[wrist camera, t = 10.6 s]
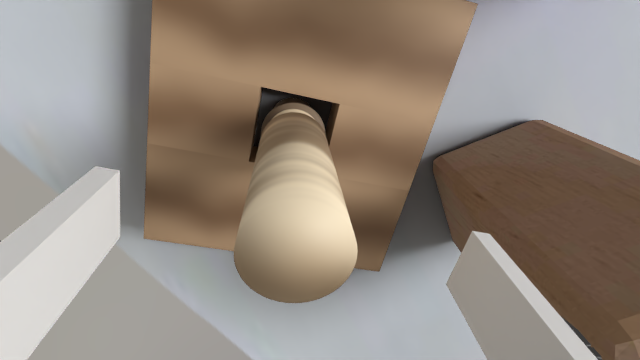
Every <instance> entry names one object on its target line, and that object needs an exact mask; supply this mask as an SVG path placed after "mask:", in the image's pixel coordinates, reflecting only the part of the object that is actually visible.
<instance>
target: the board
mask: <svg viewBox="0 0 640 360" xmlns="http://www.w3.org/2000/svg"><path fill="white" fill-rule="evenodd" d="M477 5H478V4H477V3H473V2H469V1H466V0H152V24H151V51H150V79H149V106H148V134H147V161H146V188H145V216H144V239H151V240H158V241H165V242H172V243H179V244H186V245H194V246H201V247H208V248H215V249H222V250H229V251H234V246H235V242H236V237H237V233H238V229H239V225H240V221H241V217H242V213H243V209H244V205H245V200H246V196H247V192H248V188H249V184H250V180H251V176H252V172H253V167H254V163H255V159H256V155H257V151H258V147H256V146H253V145H254V138H255V132H256V126H257V120H258V114H259V108H260V102H261V95H262V89H263V87H264V88H269V89H273V90H278V91H282V92H287V93H292V94H296V95H301V96H305V97H310V98H315V99H319V100H324V101H329V102H332V106H331V110H330V114H329V118H328V122H327V126H326V130H325V135H326V139H327V142H328V146H329V149H330V152H331V156H332V159H333V163H334V166H335V169H336V173H337V176H338V180H339V183H340V187H341V190H342V193H343V197H344V200H345V204H346V207H347V210H348V214H349V217H350V221H351V224H352V228H353V231H354V234H355V238H356V242H357V250H358V252H357V260H356V264H355V266H354V268H357V269H364V270H371V271H380V268H381V266H382V263H383V260H384V257H385V255H386V252H387V249H388V247H389V244H390V241H391V238H392V236H393V233H394V230H395V228H396V225H397V222H398V219H399V217H400V214H401V211H402V209H403V206H404V203H405V200H406V198H407V195H408V192H409V190H410V187H411V184H412V181H413V179H414V176H415V173H416V171H417V168H418V165H419V162H420V160H421V157H422V154H423V152H424V149H425V146H426V143H427V141H428V138H429V135H430V133H431V130H432V127H433V124H434V122H435V119H436V116H437V114H438V111H439V108H440V105H441V103H442V100H443V97H444V95H445V92H446V89H447V86H448V84H449V81H450V78H451V76H452V73H453V70H454V67H455V65H456V62H457V59H458V57H459V54H460V51H461V48H462V46H463V43H464V40H465V38H466V35H467V32H468V30H469V27H470V24H471V21H472V19H473V16H474V13H475V11H476V8H477Z"/></svg>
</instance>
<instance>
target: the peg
mask: <svg viewBox="0 0 640 360" xmlns="http://www.w3.org/2000/svg"><path fill="white" fill-rule="evenodd" d="M357 252H358V250H357V242H356V238H355V234H354V231H353V228H352V224H351V221H350V217H349V214H348V210H347V207H346V204H345V200H344V197H343V193H342V190H341V187H340V183H339V180H338V176H337V173H336V169H335V166H334V163H333V159H332V156H331V152H330V149H329V146H328V142H327V139H326V135H325V127H324V124H323V121H322V119H321V117H320V116H319V114H318V113H317V112H316V111H315V110H314V109H313V108H312V107H311V105H310V104H309V103H308V102H306V101H305V100H303V99H300V98H295V97H290V98H285V99H283V100H281V101H279V102H278V103H277V104H276V105H275V106H274V107H273V109H272V110H271V111H270V112H269V113H268V114H267V116H266V117H265V119H264V121H263V124H262V128H261V139H260V143H259V147H258V151H257V155H256V159H255V163H254V167H253V172H252V176H251V180H250V184H249V188H248V192H247V196H246V200H245V205H244V209H243V213H242V217H241V221H240V225H239V229H238V233H237V237H236V242H235V246H234V262H235V266H236V269H237V271H238V273H239V275H240V276H241V278H242V280H243V281H244V282H245V283H246V284H247V285H248V286H249V287H250V288H251V289H252V290H254V291H255V292H257V293H258V294H260V295H262V296H264V297H266V298H269V299H271V300H275V301H279V302H285V303H302V302H309V301H313V300H317V299H319V298H322V297H324V296H326V295H329V294H330V293H332V292H334V291H335V290H336V289H338V288H339V287H340V286H341V285H342V284H343V283H344V282H345V281H346V280H347V279H348V277H349V276H350V274H351V273H352V271H353V269H354V266H355V264H356V260H357Z"/></svg>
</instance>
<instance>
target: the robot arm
mask: <svg viewBox="0 0 640 360" xmlns="http://www.w3.org/2000/svg"><path fill="white" fill-rule="evenodd" d="M119 238H120V170H115V169H109V168H103V167H97V166H95V167H94V168H93V169H91V170H90V171H89V172H88V173H86V174H85V175H84V176H83V177H81V178H80V179H79V180H77V181H76V182H75V183H74V184H72V185H71V186H70V187H69V188H67V189H66V190H65V191H64V192H62V193H61V194H60V195H59V196H57V197H56V198H55V199H54V200H52V201H51V202H50V203H49V204H47V205H46V206H45V207H44V208H42V209H41V210H40V211H39V212H37V213H36V214H35V215H34V216H32V217H31V218H30V219H29V220H27V221H26V222H25V223H24V224H22V225H21V226H20V227H18V228H17V229H16V230H15V231H13V232H12V233H11V234H10V235H8V236H7V237H6V238H5V239H3V240H2V241H0V360H27V359H28V358H29V356H30V355H31V354H32V352H33V351H34V350H35V348H36V347H37V346H38V344H39V343H40V342H41V340H42V339H43V338H44V336H45V335H46V334H47V332H48V331H49V330H50V329H51V327H52V326H53V325H54V323H55V322H56V321H57V319H58V318H59V317H60V315H61V314H62V313H63V312H64V310H65V309H66V308H67V306H68V305H69V304H70V302H71V301H72V300H73V298H74V297H75V296H76V294H77V293H78V292H79V291H80V289H81V288H82V287H83V285H84V284H85V283H86V281H87V280H88V279H89V277H90V276H91V275H92V273H93V272H94V271H95V269H96V268H97V267H98V266H99V264H100V263H101V262H102V260H103V259H104V258H105V256H106V255H107V254H108V252H109V251H110V250H111V248H112V247H113V246H114V245H115V243H116V242H117V241H118V239H119ZM446 285H447V287H448V288H449V290H450V292H451V294H452V296H453V298H454V299H455V301H456V303H457V305H458V307H459V309H460V310H461V312H462V314H463V316H464V318H465V319H466V321H467V323H468V325H469V327H470V329H471V330H472V332H473V334H474V336H475V338H476V340H477V341H478V343H479V345H480V347H481V349H482V351H483V352H484V354H485V356H486V358H487V360H602V359H601V355H600V354H599V353H598V352H597V351H596V350H595V349H594V348H593V347H591V344H590V343H589V342H588V341H587V340H586V338H585V337H584V336H583V335H582V334H581V333H580V332H579V330H578V329H576V328H575V327H574V326H573V325H572V324H570V323H569V322H568V321H567V320H565V319H564V318H563V317H562V316H560V315H559V314H558V313H557V312H556V310H555V309H554V308H553V307H552V306H551V305H550V303H549V302H548V301H547V300H546V299H545V298H544V296H543V295H542V294H541V293H540V292H539V291H538V289H537V288H536V287H535V286H534V285H533V284H532V282H531V281H530V280H529V279H528V278H527V277H526V275H525V274H524V273H523V272H522V271H521V270H520V269H519V267H518V266H517V265H516V264H515V263H514V262H513V260H512V259H511V258H510V257H509V256H508V255H507V253H506V252H505V251H504V250H503V249H502V248H501V246H500V245H499V244H498V243H497V242H496V241H495V239H494V238H493V237H492V236H491V235H490V234H488V233H482V232H476V231H472V232H471V234H470V236H469V238H468V240H467V243H466V245H465V247H464V249H463V251H462V253H461V255H460V257H459V259H458V261H457V263H456V265H455V267H454V269H453V271H452V273H451V275H450V277H449V279H448V281H447V283H446Z"/></svg>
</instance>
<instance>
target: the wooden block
mask: <svg viewBox="0 0 640 360" xmlns="http://www.w3.org/2000/svg"><path fill="white" fill-rule="evenodd" d="M433 173H434V176H435V180H436V183H437V187H438V190H439V194H440V197H441V201H442V204H443V208H444V212H445V215H446V219H447V222H448V226H449V229H450V233H451V236H452V240H453V242H454V243H455V244H456V246H457V247H458V249H459V250H460V251H461V253H462V251H463V249H464V247H465V245H466V243H467V240H468V238H469V236H470V234H471V232H472V231H476V232H482V233H488V234H490V235H491V236H492V237H493V238H494V239H495V241H496V242H497V243H498V244H499V245H500V246H501V248H502V249H503V250H504V251H505V252H506V253H507V255H508V256H509V257H510V258H511V259H512V260H513V262H514V263H515V264H516V265H517V266H518V267H519V269H520V270H521V271H522V272H523V273H524V274H525V275H526V277H527V278H528V279H529V280H530V281H531V282H532V284H533V285H534V286H535V287H536V288H537V289H538V291H539V292H540V293H541V294H542V295H543V296H544V298H545V299H546V300H547V301H548V302H549V303H550V305H551V306H552V307H553V308H554V309H555V310H556V312H557V313H558V314H559V315H560V316H562V317H563V318H564V319H565V320H567V321H568V322H569V323H570V324H572V325H573V326H574V327H575V328H576V329H578V330H579V332H580V333H581V334H582V335H583V336H584V337H585V338H586V340H587V341H588V342H589V343H590V344H591V347H593V348H594V349H595V350H596V351H597V352H598V353H599V354H600V355H601V359H602V360H640V161H639V160H637V159H634V158H632V157H630V156H627V155H625V154H622V153H620V152H618V151H615V150H613V149H610V148H608V147H606V146H603V145H601V144H598V143H596V142H594V141H591V140H589V139H586V138H584V137H582V136H579V135H577V134H574V133H572V132H570V131H567V130H565V129H562V128H560V127H558V126H555V125H553V124H550V123H548V122H546V121H543V120H532V121H528V122H525V123H523V124H520V125H518V126H515V127H512V128H510V129H507V130H505V131H502V132H500V133H497V134H495V135H492V136H489V137H487V138H484V139H482V140H479V141H477V142H474V143H472V144H469V145H466V146H464V147H461V148H459V149H456V150H454V151H451V152H449V153H446V154H443V155H441V156H439V157H437V158H436V159H435V160H434V161H433Z"/></svg>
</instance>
